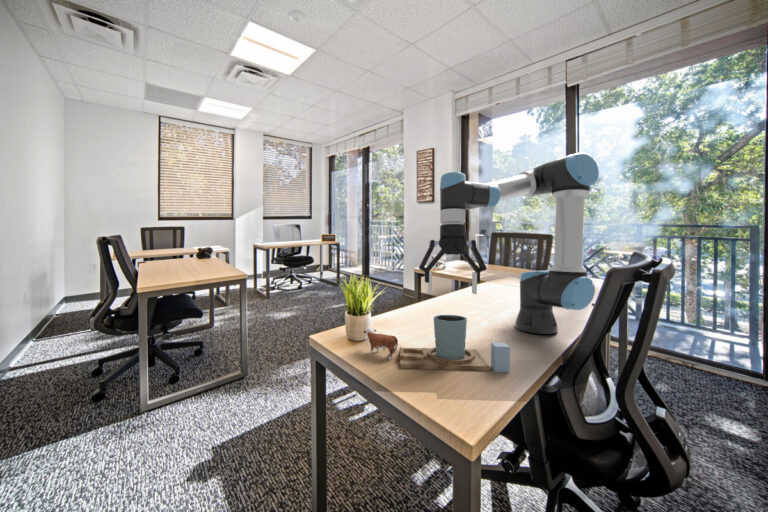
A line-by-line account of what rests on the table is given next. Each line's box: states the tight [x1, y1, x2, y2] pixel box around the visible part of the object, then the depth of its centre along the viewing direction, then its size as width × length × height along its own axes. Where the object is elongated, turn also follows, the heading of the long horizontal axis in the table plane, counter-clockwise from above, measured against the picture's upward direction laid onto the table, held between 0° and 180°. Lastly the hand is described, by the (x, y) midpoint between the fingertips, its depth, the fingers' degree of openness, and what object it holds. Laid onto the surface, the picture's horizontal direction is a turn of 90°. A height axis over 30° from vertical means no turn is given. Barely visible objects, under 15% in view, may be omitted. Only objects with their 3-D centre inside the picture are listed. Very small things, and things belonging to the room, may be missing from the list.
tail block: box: [490, 342, 511, 373], centre depth 90 cm, size 4×4×7 cm
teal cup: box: [433, 314, 468, 360], centre depth 98 cm, size 10×10×12 cm
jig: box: [399, 346, 490, 372], centre depth 98 cm, size 25×16×2 cm, turn 87°
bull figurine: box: [363, 327, 399, 361], centre depth 102 cm, size 4×13×8 cm, turn 51°
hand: (452, 293), depth 97 cm, fingers open, 13 cm apart
